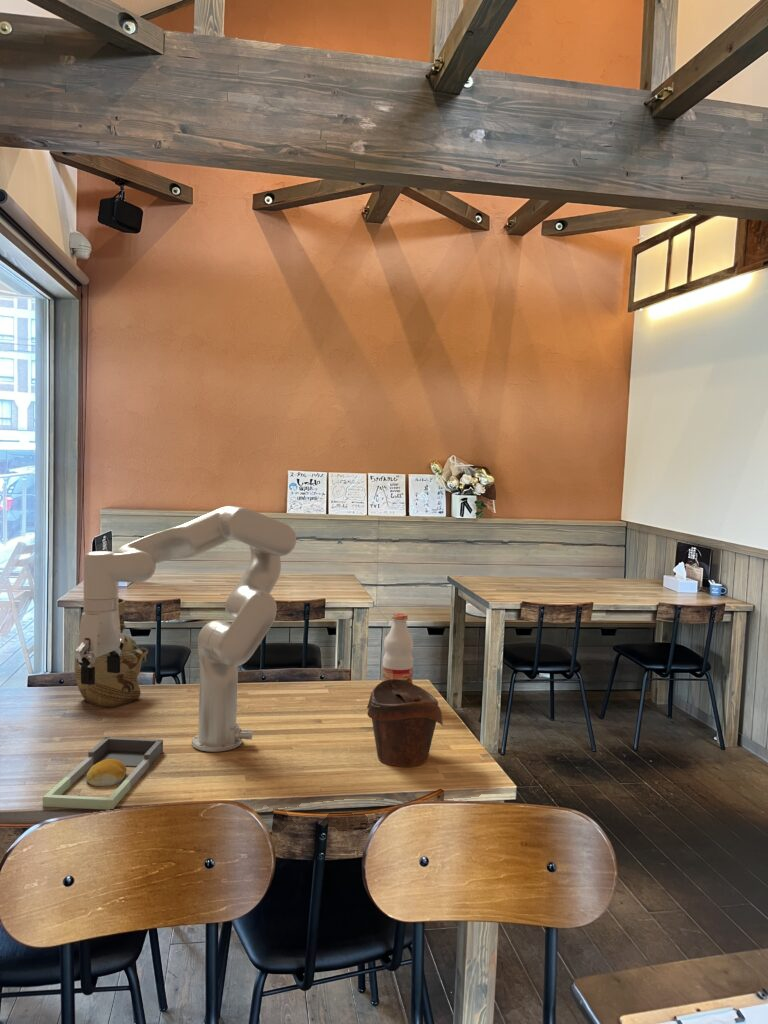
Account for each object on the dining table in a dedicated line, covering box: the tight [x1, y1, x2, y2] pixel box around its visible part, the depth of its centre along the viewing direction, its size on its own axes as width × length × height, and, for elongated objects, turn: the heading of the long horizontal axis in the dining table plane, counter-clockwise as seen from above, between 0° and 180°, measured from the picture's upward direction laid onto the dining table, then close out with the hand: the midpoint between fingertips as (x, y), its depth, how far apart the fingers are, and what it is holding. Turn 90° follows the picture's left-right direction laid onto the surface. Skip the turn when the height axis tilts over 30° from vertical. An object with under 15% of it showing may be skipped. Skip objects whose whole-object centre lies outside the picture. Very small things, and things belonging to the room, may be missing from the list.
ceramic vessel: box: [74, 597, 149, 709], centre depth 221 cm, size 19×21×30 cm
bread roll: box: [85, 759, 128, 787], centre depth 165 cm, size 8×9×4 cm
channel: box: [42, 736, 164, 811], centre depth 166 cm, size 14×32×3 cm, turn 179°
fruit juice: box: [381, 613, 414, 684], centre depth 226 cm, size 9×9×28 cm
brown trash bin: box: [366, 679, 444, 768], centre depth 184 cm, size 18×20×18 cm
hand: (101, 678), depth 170 cm, fingers open, 9 cm apart
